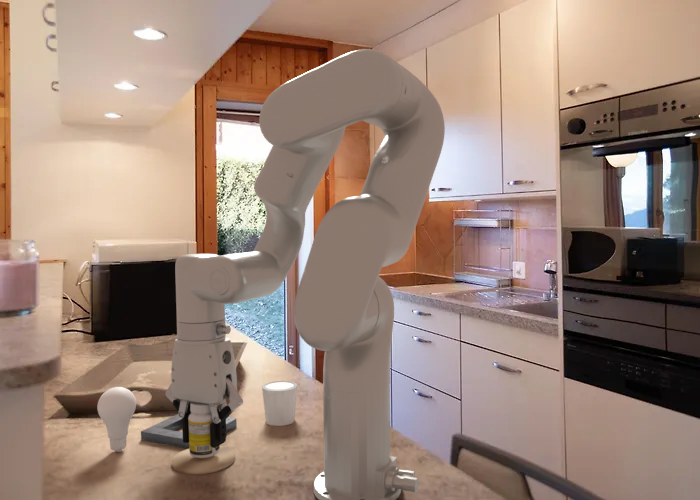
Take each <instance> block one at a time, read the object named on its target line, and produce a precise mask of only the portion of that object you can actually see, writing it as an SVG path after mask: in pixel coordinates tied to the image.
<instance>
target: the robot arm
mask: <svg viewBox="0 0 700 500" xmlns="http://www.w3.org/2000/svg"><path fill="white" fill-rule="evenodd" d="M259 112H260V113H259V120H258V121H259V129H260V131H261V134H262V135H263V137H264V140H266V141H267V142H268V143H269V144H271V145H272V146H271V149H270V151H269V153H268V155H267V157H266V159H265V161H264V164H263V166H262V168H261V169H260V171H259V173H258V175H257V177H256V179H255V181H254V184H253V189H254V192H255V194H256V196H257V197H258V198H259V199H260V200H261V201H262V203H263V205H264V207H265V212H266V213H265V214H266V221H265V225H264V228H263V230H262V233H261V235H260V237H259V239H258V241H257V243H256V245H255V247H254V249H253V251H248V252H247V251H246V252H237V253H228V254H223V255H220V254H216V253H191V254H188V253H187V254H183V255H180V256H179V257H177V259H176V260H175V268H174V269H175V270H174V271H175V272H174V273H175V276H174V277H175V303H176V308H175V309H176V337H177V338H175V339H174V343H173V348H172V349H173V350H172V356H171V368H170V369H171V372H170V373H171V374H170V378H171V379H170V381H171V382H170V384H169V386H168V388H167V389H166V391H165V396H166V398H167V399H168V400H169V401H170V402H171V403H172V405H173V406H174V408H175V409H176V411H177V412H178V413H177V414H178V416H179V417H180V418H182V427H181V428H182V429H181V432H183V442H184V443H188V442H189V423H188V418H189V415H190V414H191V411H190V403H191V402H197V403H204V404H209V405H210V410H211V414H212V418H213V421H214V422H212V423H211V424H210V442H211V447H212V448H216V447H218V446H219V445H220V446H222V445H223V444H224V443H225V442H226V441H227V440H226V439H227V433H226V419H227V418H228V417H230V415H231V414H232V413H234V411H235V410H236V409H238V408H239V407H240V406H241V405H243V403H244V400H243V398H242V396H241V395H240V393H239V391H238V378H237V377H238V376H237V368H236V361H235V360H236V359H235V354H234V348H233V345H232V341H231V338H229V337H227V335H229V334H230V333H231V329H232V328H231V326H230V325H227V324H226V312H225V311H226V308H225V307H226V306H225V304H226V305H232V304H233V305H234V304H240V303H244V302H248V301H251V300H254V299H260V298H263V297H268V296H270V295H272V294H273V293H275V292H276V291H277V290H278V289H279V288H280V287H281V286H282V284H283V283H284V281H285V280H286V278H287V277H288V274H289V273H290V270H291V269H292V267H293V265H294V264H295V263H296V262H295V261H296V260H297V258H298V256H299V253H300V251H301V248H302V245H303V240H304V236H305V235H304V233H305V227H306V213H307V212H306V211H307V209H308V207H309V205H310V203H311V200H312V199H313V197H314V195H315V193H316V191H317V189H318V187H319V185H320V183H321V181H322V180H323V177H324V175H325V173H326V172H327V170H328V169H329V165H330V164H331V162H332V160H333V158H334V157H335V154H336V153H337V150H338V148H339V147H340V145H341V143H342V141H343V138H344V136H345V132H346V128H347V127H349V126H351V125H354V124H356V123H358V122H364V123H367V124H369V125H372V126H375V127H377V128H379V129H381V130H382V132H383V140H382V142H381V144H379V147H378V148H377V150H376V152H375V154H374V155H373V158H372V159H371V160H372V161H371V163H370V165H369V169H368V173H367V176H366V178H365V181H364V183H363V187H362V189H361V192H360V194H359V195H354V196H349V197H346V198H343V199H341V200H339V201H337V202H336V203H335V204H333V205H332V206H331V207H330V208H329V209H328V210H327V212H326V213H325V215H324V216H323V217H322V219H321V221H320V223H319V224H318V228H317V229H316V232H315V235H314V238H313V241H312V244H311V248H310V251H309V253H308V257H307V260H306V263H305V266H304V270H303V272H302V276H301V277H300V278H301V279H300V281H299V285H298V287H297V291H296V295H295V299H294V304H293V319H294V325H295V328H296V330H297V333H298V334H299V337H301V339H302V340H303V341H304V343H306V344H307V345H308V346H310V347H311V348H314V349H315V350H318V351H322V352H324V355H323V369H322V372H323V373H322V375H323V376H322V382H323V383H322V390H323V391H322V394H323V396H322V398H323V399H322V400H323V402H322V405H323V471H322V472H321V473H319V474H318V475H317V476H316V477H315V479H314V481H313V494H314V496H315V497H316V498H317V499H318V500H397V499H398V498H399V497H400V495H401V493H402V491H404V492H409V493H415V494H417V492H418V491H419V487H420V479H419V477H416V471H414V470H410V469H400V466H398V465H397V462H398V460H397V458H398V457H397V456H395V455H394V456H393V455H391V396H390V395H391V392H390V391H391V389H390V387H391V385H390V384H391V353H392V352H391V349H392V348H391V347H392V339H393V332H394V331H393V329H394V322H395V321H394V320H395V304H394V303H395V301H394V297H393V294H392V291H391V289H390V287H389V285H388V284H387V283H386V281H385V280H384V279H383V278H382V277H381V276H380V273H381V271H382V268H385V267H389V266H390V265H394V264H395V263H398V262H399V261H400V260H401V259H402V258H404V256H405V255H406V254H407V252H408V250H409V248H410V246H411V244H412V239H413V236H414V233H415V230H416V226H417V224H418V221H419V219H420V215H421V212H422V211H423V207H424V204H425V201H426V199H427V196H428V192H429V189H430V185H431V184H432V180H433V178H434V177H433V176H434V174H435V171H436V167H437V165H438V162H439V159H440V157H441V153H442V150H443V145H444V141H445V135H446V134H445V131H446V130H445V129H446V128H445V117H444V114H443V111H442V109H441V105H440V103H439V102H438V99H437V98H436V97H435V95H434V94H433V92H432V91H431V90H430V89H429V88H428V87H427V86H426V85H425V83H423V82H422V81H421V80H420V79H419V78H418V77H417V76H416V75H414V73H412V72H411V71H410V70H409V69H407V68H406V67H405V66H403V65H402V64H400V63H399V62H397V61H396V60H395V59H393V58H392V57H391V56H389V55H387V53H385V52H382V51H380V50H376V49H371V48H370V49H369V48H361V49H358V50H353V51H350V52H347V53H345V54H342V55H340V56H338V57H336V58H334V59H331V60H329V61H328V62H325V63H324V64H321V65H320V66H317V67H315V68H313V69H311V70H309V71H307V72H304V73H303V74H301V75H298V76H297V77H294V78H292V79H291V80H288V81H286V82H285V83H282V84H281V85H280V86H278V87H277V88H276V89H274V90H273V91H272V92H271V93H270V94H269V95H268V96H267V98H266V99H265V100H264V102H263V104H262V105H261V109H260V111H259ZM227 399H228V400H229V402H228V403H227Z"/></svg>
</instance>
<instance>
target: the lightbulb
mask: <svg viewBox="0 0 700 500" xmlns="http://www.w3.org/2000/svg"><path fill="white" fill-rule="evenodd" d="M96 407H97V409H96V410H97V413H98V415H99V417H100V419H101V420H102V422H103V423H104V425H105V428H106V431H107V437H108V439H109V445H110V446H109V447H110V449H111V451H114V452H115V453H120V452H122V451H123V450H124V449H126V447H127V436H128V433H129V425H130V422H131V419H132V418H133V416H134V413H135V411H136V409H137V408H136V407H137V398H136V396H135V395H134V393H133V392H132V391H131V390H130V389H129V388H126V387H124V386H123V387H122V386H115V387H111V388H108V389H107V390H105V392H103V394H101V396H100V397H99V399H98V401H97V406H96Z"/></svg>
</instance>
